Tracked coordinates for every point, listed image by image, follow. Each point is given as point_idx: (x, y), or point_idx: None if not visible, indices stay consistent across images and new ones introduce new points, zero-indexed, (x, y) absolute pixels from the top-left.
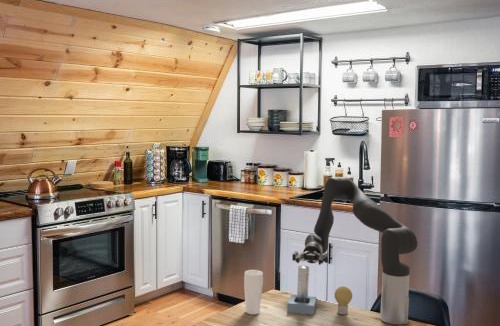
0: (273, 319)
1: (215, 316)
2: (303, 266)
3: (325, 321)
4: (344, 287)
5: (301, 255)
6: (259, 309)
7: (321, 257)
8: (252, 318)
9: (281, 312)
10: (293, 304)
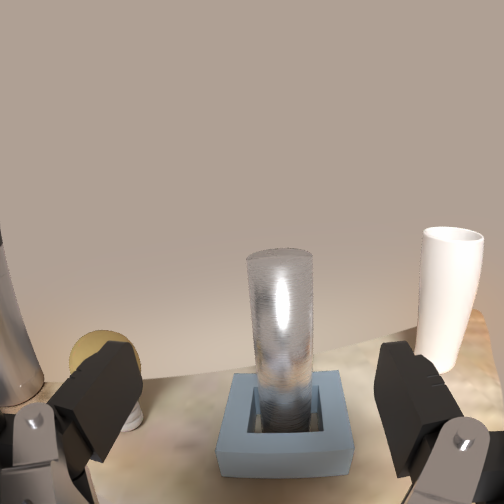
0: (357, 352)
1: (481, 322)
2: (282, 261)
3: (202, 373)
4: (94, 333)
5: (415, 484)
6: (414, 352)
7: (51, 411)
8: (409, 341)
9: (355, 392)
10: (314, 373)
